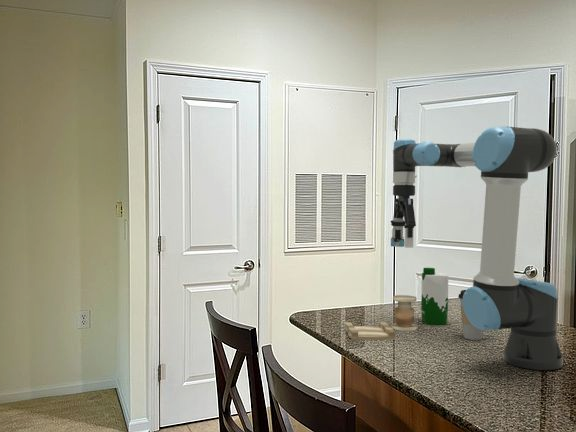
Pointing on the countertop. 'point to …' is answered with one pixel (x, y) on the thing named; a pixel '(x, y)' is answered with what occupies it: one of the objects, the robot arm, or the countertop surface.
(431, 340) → the countertop surface
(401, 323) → the bobbin
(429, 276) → the milk carton
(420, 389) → the countertop surface
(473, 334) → the coffee cup
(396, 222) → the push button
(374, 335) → the terminal board
